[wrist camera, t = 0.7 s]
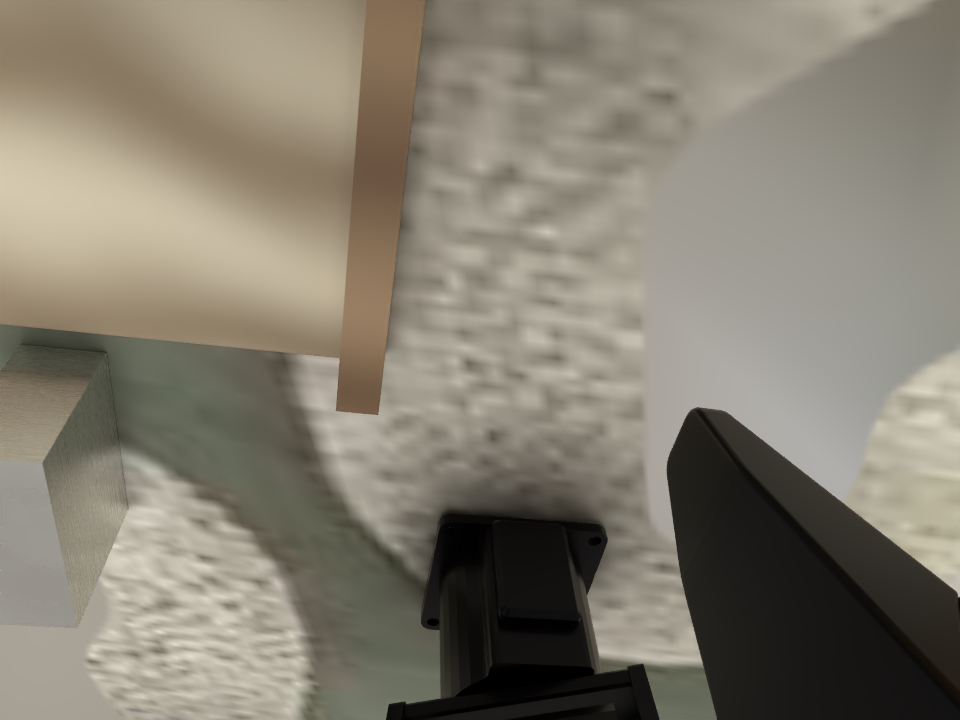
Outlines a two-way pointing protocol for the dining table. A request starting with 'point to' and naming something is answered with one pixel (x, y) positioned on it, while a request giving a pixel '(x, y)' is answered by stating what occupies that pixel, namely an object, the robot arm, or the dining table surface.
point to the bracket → (56, 483)
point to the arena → (209, 172)
